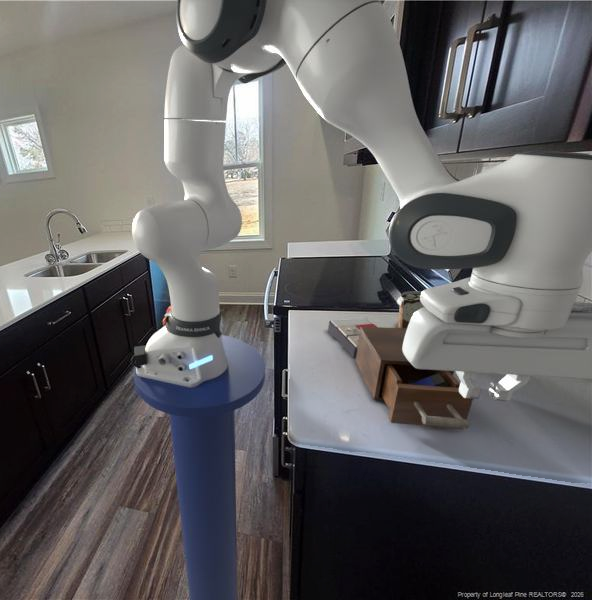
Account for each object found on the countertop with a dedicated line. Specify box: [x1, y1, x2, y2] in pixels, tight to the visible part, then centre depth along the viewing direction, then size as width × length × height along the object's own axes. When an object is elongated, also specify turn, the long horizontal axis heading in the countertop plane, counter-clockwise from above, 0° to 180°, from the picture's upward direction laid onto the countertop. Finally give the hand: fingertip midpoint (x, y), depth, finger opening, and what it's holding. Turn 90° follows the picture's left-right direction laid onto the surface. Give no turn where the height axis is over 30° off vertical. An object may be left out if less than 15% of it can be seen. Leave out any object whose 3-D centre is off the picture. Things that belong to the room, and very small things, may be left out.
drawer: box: [380, 364, 474, 431], centre depth 59 cm, size 18×11×8 cm, turn 168°
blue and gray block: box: [410, 373, 449, 387], centre depth 59 cm, size 8×2×2 cm
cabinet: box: [355, 326, 455, 402], centre depth 68 cm, size 15×13×10 cm
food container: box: [396, 290, 424, 328], centre depth 91 cm, size 12×6×10 cm, turn 89°
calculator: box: [327, 317, 378, 360], centre depth 85 cm, size 11×4×15 cm
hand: (482, 396), depth 42 cm, fingers closed
